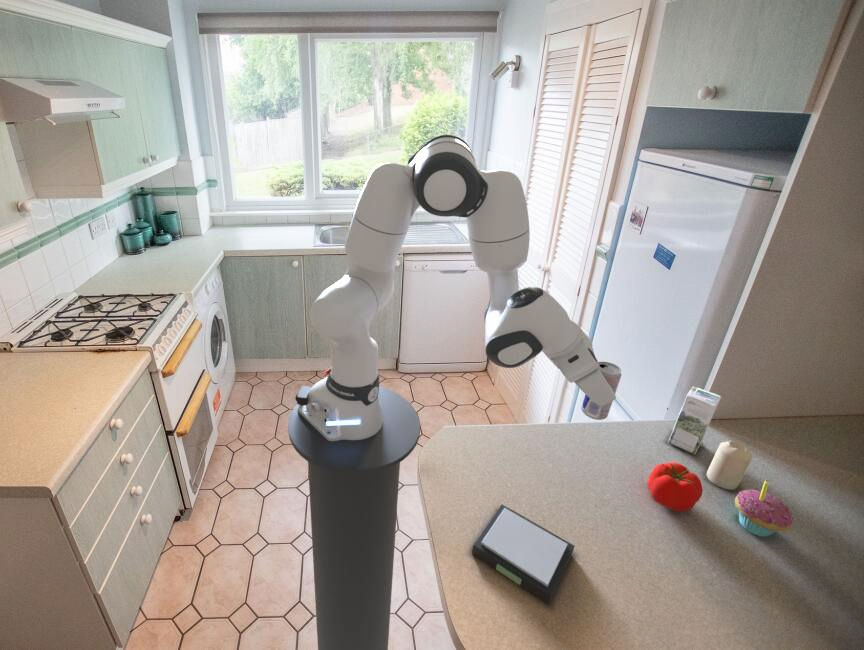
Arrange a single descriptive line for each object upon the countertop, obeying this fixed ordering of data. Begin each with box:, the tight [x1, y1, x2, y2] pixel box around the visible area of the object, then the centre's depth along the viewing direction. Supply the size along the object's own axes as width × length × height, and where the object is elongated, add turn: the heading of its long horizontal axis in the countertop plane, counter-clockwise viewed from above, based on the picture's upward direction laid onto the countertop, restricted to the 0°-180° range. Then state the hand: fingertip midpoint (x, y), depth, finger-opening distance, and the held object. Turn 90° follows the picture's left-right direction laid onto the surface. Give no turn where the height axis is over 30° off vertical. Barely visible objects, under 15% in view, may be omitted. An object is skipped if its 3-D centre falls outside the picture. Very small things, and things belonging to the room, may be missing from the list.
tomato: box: [647, 462, 703, 512], centre depth 93 cm, size 9×9×8 cm
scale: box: [471, 503, 575, 605], centre depth 82 cm, size 14×12×3 cm
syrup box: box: [667, 385, 722, 455], centre depth 106 cm, size 6×6×14 cm
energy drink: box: [580, 361, 622, 421], centre depth 98 cm, size 5×5×12 cm
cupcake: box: [734, 478, 795, 537], centre depth 86 cm, size 9×8×12 cm
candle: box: [706, 439, 754, 491], centre depth 97 cm, size 6×6×10 cm
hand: (604, 389), depth 98 cm, fingers closed on energy drink, 5 cm apart
